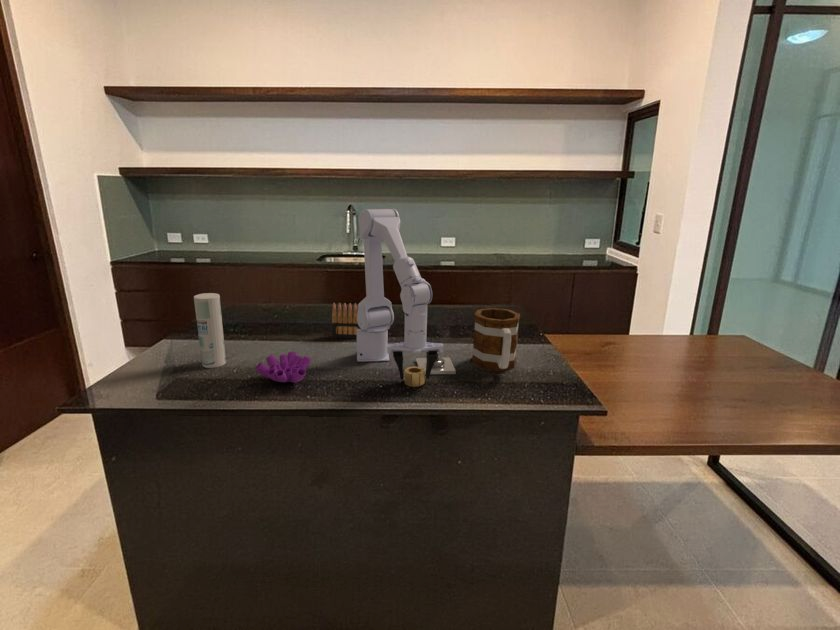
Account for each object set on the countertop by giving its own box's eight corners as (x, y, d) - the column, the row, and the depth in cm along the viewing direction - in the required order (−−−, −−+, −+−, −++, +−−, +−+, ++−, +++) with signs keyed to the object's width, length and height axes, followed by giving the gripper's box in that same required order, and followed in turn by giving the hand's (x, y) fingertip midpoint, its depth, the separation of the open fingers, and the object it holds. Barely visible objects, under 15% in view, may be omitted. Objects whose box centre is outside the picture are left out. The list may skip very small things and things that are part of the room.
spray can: (231, 362, 135) (224, 295, 130) (211, 369, 130) (203, 299, 124) (216, 357, 138) (209, 291, 133) (196, 364, 133) (188, 296, 127)
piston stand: (419, 374, 130) (420, 353, 128) (416, 361, 139) (416, 341, 138) (455, 373, 131) (456, 353, 129) (449, 360, 141) (450, 341, 139)
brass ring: (405, 386, 122) (405, 374, 121) (403, 378, 127) (404, 366, 126) (425, 386, 123) (425, 374, 122) (423, 378, 128) (423, 366, 127)
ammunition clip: (364, 336, 160) (363, 302, 157) (363, 338, 158) (362, 303, 155) (332, 335, 160) (331, 301, 157) (331, 337, 158) (330, 303, 155)
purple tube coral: (272, 403, 119) (247, 374, 117) (290, 378, 133) (268, 353, 131) (306, 380, 117) (281, 350, 115) (320, 357, 131) (298, 331, 129)
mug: (467, 354, 146) (470, 307, 142) (510, 353, 147) (514, 307, 143) (480, 380, 127) (483, 327, 123) (528, 380, 128) (533, 327, 124)
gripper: (388, 334, 116) (387, 384, 120) (445, 333, 118) (443, 383, 122) (386, 325, 123) (386, 373, 127) (441, 325, 124) (439, 372, 128)
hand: (414, 377), depth 125 cm, fingers open, 6 cm apart
